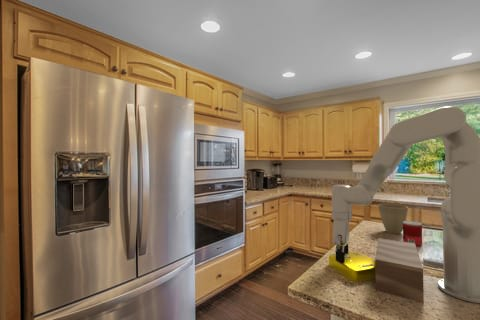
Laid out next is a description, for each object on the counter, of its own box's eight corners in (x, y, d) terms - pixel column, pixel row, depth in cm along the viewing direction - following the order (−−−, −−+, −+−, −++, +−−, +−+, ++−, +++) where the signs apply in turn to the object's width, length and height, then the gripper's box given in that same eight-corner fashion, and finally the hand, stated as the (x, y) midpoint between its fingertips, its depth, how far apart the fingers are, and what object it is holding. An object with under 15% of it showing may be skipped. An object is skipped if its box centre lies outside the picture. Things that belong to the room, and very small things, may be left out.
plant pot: (395, 228, 144) (395, 203, 145) (415, 235, 130) (414, 207, 130) (373, 229, 143) (372, 203, 144) (390, 236, 129) (389, 208, 129)
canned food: (426, 246, 113) (425, 224, 113) (410, 246, 113) (409, 224, 113) (414, 241, 121) (414, 220, 121) (399, 241, 121) (399, 220, 121)
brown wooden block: (378, 262, 97) (378, 237, 97) (415, 269, 90) (414, 243, 90) (375, 290, 76) (375, 259, 76) (423, 302, 69) (423, 268, 69)
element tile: (353, 283, 81) (353, 269, 81) (326, 265, 95) (326, 253, 95) (387, 277, 85) (386, 264, 85) (356, 260, 99) (356, 249, 99)
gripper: (336, 210, 102) (336, 248, 102) (327, 218, 88) (327, 262, 88) (354, 212, 98) (355, 251, 98) (348, 221, 84) (349, 267, 84)
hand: (342, 257), depth 93 cm, fingers open, 9 cm apart
